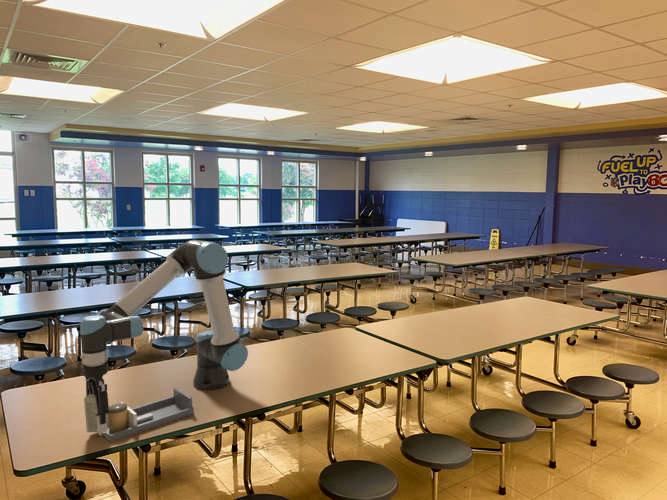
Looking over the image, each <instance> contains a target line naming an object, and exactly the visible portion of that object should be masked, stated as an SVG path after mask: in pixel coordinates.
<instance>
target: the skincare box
mask: <svg viewBox="0 0 667 500" xmlns="http://www.w3.org/2000/svg"><path fill="white" fill-rule="evenodd" d="M107 396H108V397H109V395H108V392H107ZM83 402H84V404H83V405H84V414H85V415H84V416H85V427H86V433H98V426H97V416H96V414H98V410H97V404H96V398H95V395H93V394H88V395H87V396H86V395H85V397H83ZM109 406H110V405H109V403H108V407H109ZM106 417H107V429H108V428H109V427H110V417H109V413H108V414H106Z"/></svg>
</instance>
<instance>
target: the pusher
mask: <svg viewBox="0 0 667 500" xmlns="http://www.w3.org/2000/svg"><path fill="white" fill-rule="evenodd" d="M120 403H124V402H123V401H121V402H120ZM151 418H154V415H153V414H151V413H149V414H146V415H142V416H139V417H137V413H135V412H134V411H133V410H132V408H131V407H130V406H128V405H127V419H128V426H129V427H133V426H136V425H137V423H139V422H142V421H145V420H148V419H151Z"/></svg>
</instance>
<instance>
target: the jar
mask: <svg viewBox="0 0 667 500" xmlns="http://www.w3.org/2000/svg"><path fill="white" fill-rule="evenodd" d="M127 406H128V404H127V403H125V402H123V403H121V402H116V403H114V404H110V405H109V417H110V427H109V431H110V432H113V433H115V432H118V431H121V430H124V429H127V428H128V419H127Z"/></svg>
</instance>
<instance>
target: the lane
mask: <svg viewBox="0 0 667 500" xmlns="http://www.w3.org/2000/svg"><path fill="white" fill-rule="evenodd" d="M131 409H132V410H133V411H134V412H135V413H137V417H139V416H142V415H146V414H149V413H151V414H153V415H154V418H151V419H148V420H145V421H142V422H139V423H137V425H136V426H133V427H129V426H128V428H127V429H124V430H121V431H118V432H115V433H113V432H110V431H109V428H108V429H107V431H106V432H103V433H101V434H102V436H103V437H105V438H106V440H107V441H108V442H109V443H112V442H115V441H118V440H120V439H124V438H127V437H129V436H133V435H135V434H138V433H141V432H142V433H143V432H144V431H147V430H149V429H150V430H151V429H152V428H156V427H159V426H161V425H164V424H167V423H168V424H169V423H170V422H173V421H177V420H179V419H180V420H182V419H183V418H187V417H189V416H192V415H194V414H195V407H193V397H192V396H190V395H189V394H187V393H186V392H184V391H182V390H180V389H179V388H177V387H174V388H173V395H172V396H169V397H165V398H162V399H158V400H156V401H152V402H149V403H145V404H142V405H139V406H136V407H133V408H131Z"/></svg>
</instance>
